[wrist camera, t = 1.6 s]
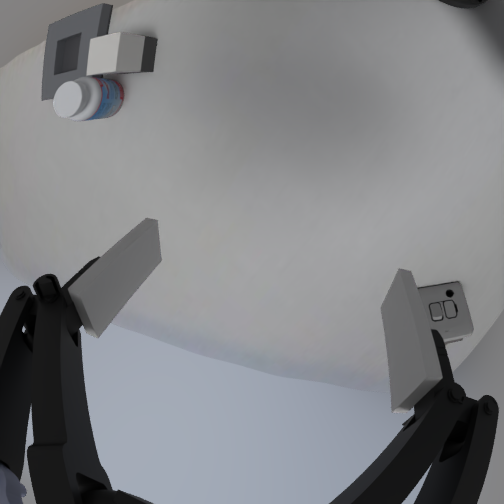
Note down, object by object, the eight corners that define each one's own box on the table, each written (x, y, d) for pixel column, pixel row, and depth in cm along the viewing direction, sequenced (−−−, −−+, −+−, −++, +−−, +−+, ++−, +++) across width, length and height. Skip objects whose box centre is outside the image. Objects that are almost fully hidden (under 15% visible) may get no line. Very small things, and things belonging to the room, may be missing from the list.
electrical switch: (460, 280, 34) (478, 324, 27) (454, 302, 37) (468, 346, 30) (408, 288, 37) (420, 336, 30) (406, 310, 40) (415, 356, 33)
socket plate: (58, 25, 25) (49, 25, 23) (113, 5, 23) (102, 3, 21) (51, 98, 33) (41, 100, 31) (101, 91, 32) (91, 92, 30)
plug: (128, 42, 27) (90, 39, 20) (157, 38, 26) (120, 31, 20) (124, 73, 30) (86, 75, 23) (153, 71, 29) (115, 71, 23)
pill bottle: (133, 92, 32) (96, 89, 22) (110, 125, 34) (69, 133, 24) (107, 73, 30) (66, 66, 20) (85, 104, 32) (42, 108, 22)
